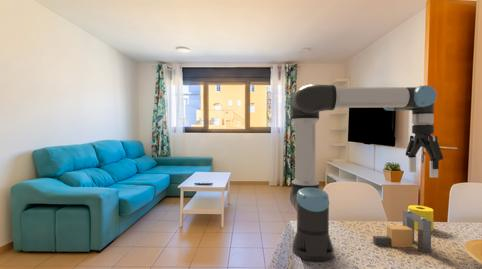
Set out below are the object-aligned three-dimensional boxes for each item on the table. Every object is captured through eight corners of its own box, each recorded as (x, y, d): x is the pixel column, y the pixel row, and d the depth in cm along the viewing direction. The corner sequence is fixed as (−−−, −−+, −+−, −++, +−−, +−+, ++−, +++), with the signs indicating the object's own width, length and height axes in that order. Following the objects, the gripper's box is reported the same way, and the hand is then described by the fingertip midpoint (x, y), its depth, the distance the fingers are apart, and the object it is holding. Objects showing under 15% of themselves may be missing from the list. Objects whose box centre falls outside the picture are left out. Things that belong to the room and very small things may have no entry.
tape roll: (416, 222, 129) (416, 204, 129) (438, 229, 119) (438, 209, 119) (403, 225, 125) (403, 206, 125) (424, 232, 116) (424, 212, 116)
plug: (376, 246, 102) (376, 228, 102) (372, 242, 106) (372, 225, 106) (412, 247, 101) (412, 229, 101) (406, 242, 105) (406, 226, 105)
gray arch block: (422, 252, 97) (422, 219, 97) (402, 238, 110) (402, 209, 110) (430, 252, 96) (431, 219, 96) (409, 238, 109) (409, 209, 109)
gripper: (455, 123, 95) (454, 180, 95) (413, 125, 120) (413, 170, 120) (434, 123, 95) (434, 179, 95) (397, 125, 120) (396, 170, 120)
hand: (422, 174), depth 107 cm, fingers open, 13 cm apart
